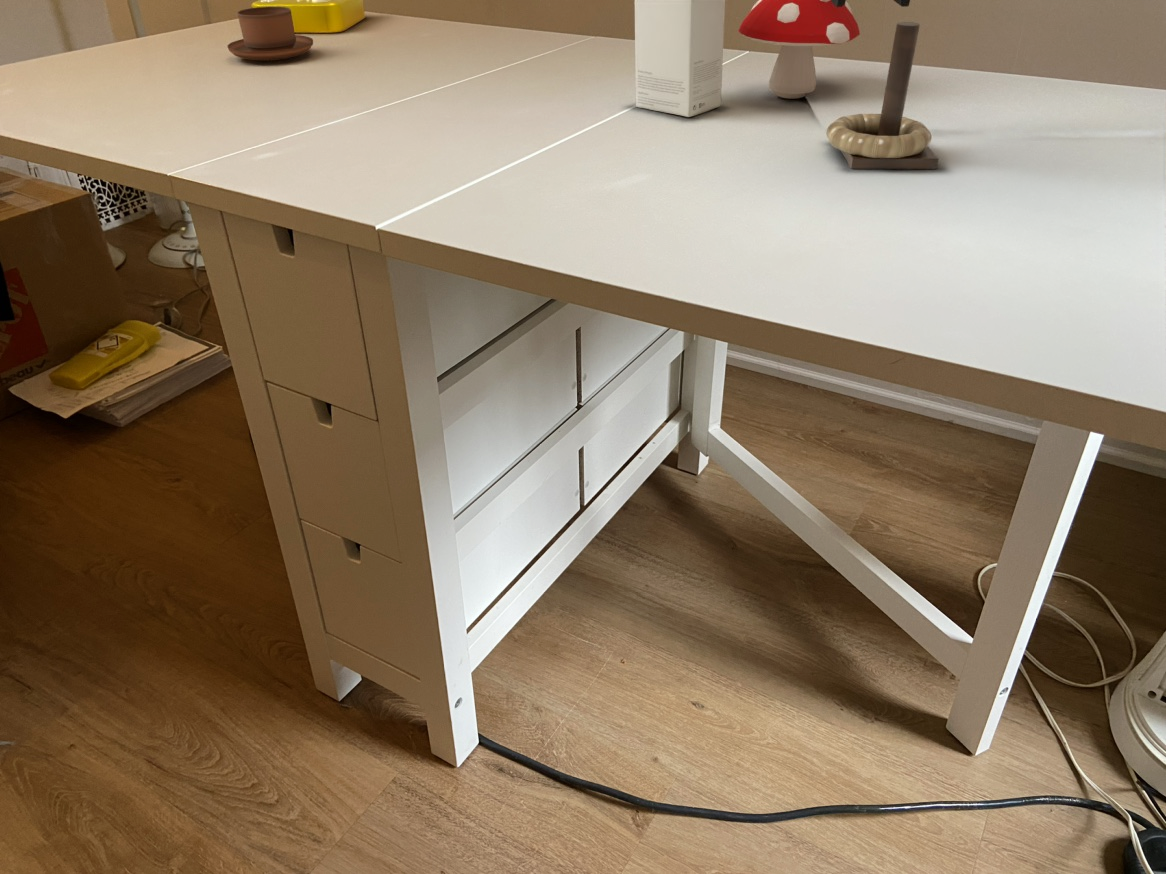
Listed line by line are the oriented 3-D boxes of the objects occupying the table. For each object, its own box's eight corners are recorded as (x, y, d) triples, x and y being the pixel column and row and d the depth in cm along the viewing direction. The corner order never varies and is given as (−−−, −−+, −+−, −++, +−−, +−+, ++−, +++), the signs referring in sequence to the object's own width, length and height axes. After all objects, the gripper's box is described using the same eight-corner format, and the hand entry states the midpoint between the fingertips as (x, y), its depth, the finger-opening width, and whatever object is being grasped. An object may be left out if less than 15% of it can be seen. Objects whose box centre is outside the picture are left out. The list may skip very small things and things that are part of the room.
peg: (915, 143, 90) (941, 15, 83) (936, 169, 83) (966, 32, 76) (836, 143, 90) (855, 16, 83) (851, 168, 83) (873, 32, 77)
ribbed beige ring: (913, 131, 90) (917, 111, 89) (939, 161, 82) (944, 139, 81) (819, 131, 90) (821, 111, 89) (835, 160, 82) (838, 139, 81)
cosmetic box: (721, 108, 102) (732, -44, 93) (686, 120, 98) (694, -38, 89) (665, 96, 107) (671, -50, 98) (630, 107, 103) (632, -44, 94)
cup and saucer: (216, 57, 129) (205, 11, 125) (291, 45, 135) (283, 1, 132) (252, 70, 121) (242, 21, 118) (330, 56, 128) (322, 10, 124)
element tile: (368, 16, 154) (364, -14, 152) (341, 33, 142) (336, 1, 139) (286, 16, 156) (280, -14, 153) (252, 33, 144) (245, 1, 141)
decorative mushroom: (747, 79, 113) (758, -54, 104) (856, 87, 109) (878, -50, 100) (721, 106, 102) (732, -39, 94) (841, 116, 98) (864, -34, 90)
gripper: (1004, -252, 71) (953, -3, 81) (792, -247, 72) (768, -2, 82) (1038, -259, 65) (978, 11, 75) (806, -253, 66) (778, 12, 76)
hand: (869, 2), depth 79 cm, fingers open, 5 cm apart
